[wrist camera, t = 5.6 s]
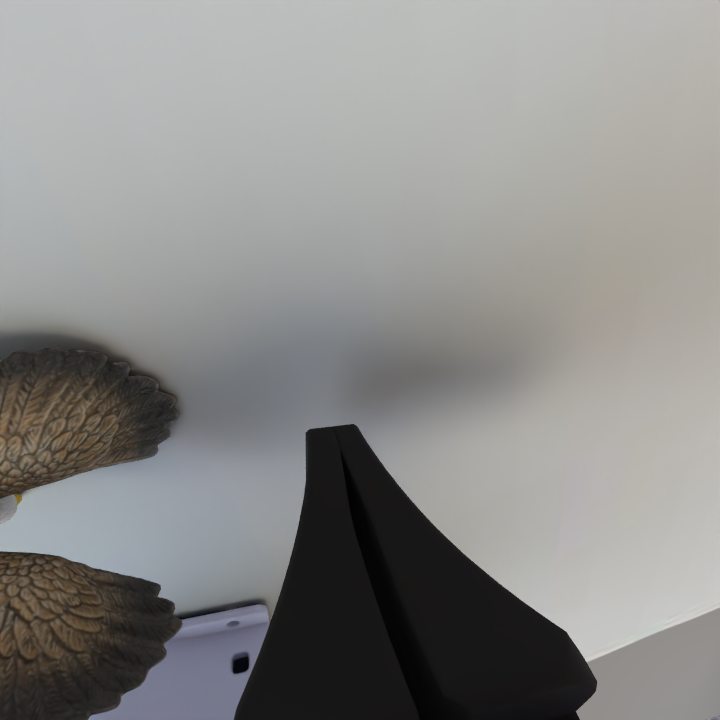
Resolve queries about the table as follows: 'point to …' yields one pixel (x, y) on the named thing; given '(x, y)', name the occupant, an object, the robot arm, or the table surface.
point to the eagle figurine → (56, 574)
